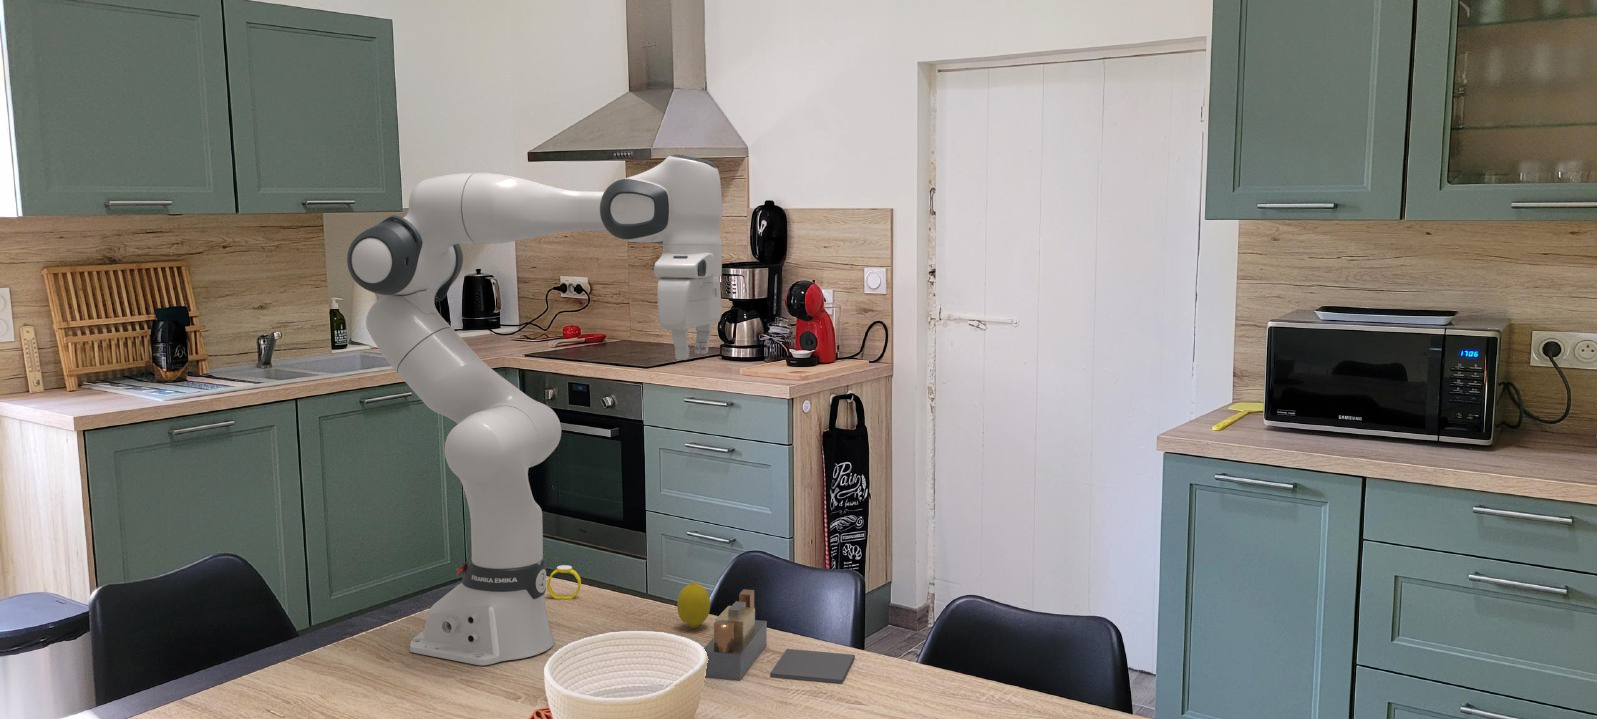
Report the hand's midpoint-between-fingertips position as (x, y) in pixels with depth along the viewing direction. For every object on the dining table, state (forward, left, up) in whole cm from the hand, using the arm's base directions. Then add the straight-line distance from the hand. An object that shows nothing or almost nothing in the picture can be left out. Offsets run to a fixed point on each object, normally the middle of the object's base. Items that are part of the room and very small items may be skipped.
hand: (692, 356), depth 175 cm
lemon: (-5, +16, -48) cm, 51 cm away
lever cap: (+6, +3, -44) cm, 44 cm away
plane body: (+6, +3, -48) cm, 48 cm away
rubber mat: (+19, +3, -48) cm, 51 cm away
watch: (-33, +26, -48) cm, 64 cm away
